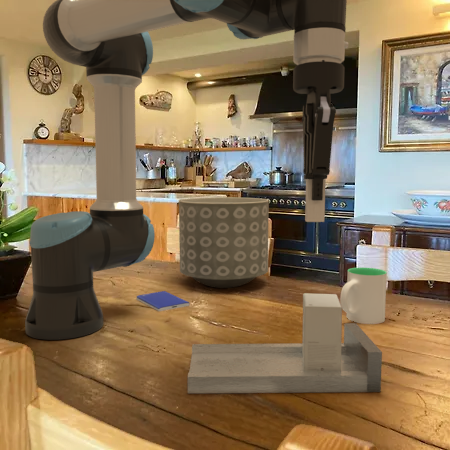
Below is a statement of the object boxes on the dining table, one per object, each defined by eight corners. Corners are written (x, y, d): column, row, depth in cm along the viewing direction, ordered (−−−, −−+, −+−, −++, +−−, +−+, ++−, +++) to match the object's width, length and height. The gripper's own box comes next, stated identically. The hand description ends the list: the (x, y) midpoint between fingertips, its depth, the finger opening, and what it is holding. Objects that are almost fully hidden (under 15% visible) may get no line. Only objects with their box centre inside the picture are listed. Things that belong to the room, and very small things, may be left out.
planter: (280, 291, 127) (281, 201, 124) (188, 297, 121) (187, 203, 118) (252, 272, 151) (253, 196, 148) (174, 276, 145) (173, 198, 142)
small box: (341, 376, 71) (342, 307, 70) (303, 373, 72) (304, 305, 71) (336, 355, 79) (337, 293, 78) (301, 353, 80) (303, 292, 79)
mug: (361, 330, 96) (362, 280, 94) (328, 321, 102) (329, 273, 100) (391, 318, 104) (393, 271, 102) (359, 310, 110) (360, 266, 108)
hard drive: (136, 295, 119) (158, 307, 109) (165, 290, 124) (189, 301, 114) (136, 301, 119) (158, 313, 109) (165, 296, 124) (189, 307, 114)
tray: (187, 393, 69) (187, 353, 68) (192, 358, 82) (192, 324, 81) (380, 391, 69) (382, 352, 69) (355, 357, 82) (356, 323, 81)
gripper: (356, 54, 65) (350, 226, 68) (333, 73, 78) (329, 217, 81) (301, 54, 65) (297, 226, 68) (287, 73, 78) (284, 217, 80)
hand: (314, 221), depth 74 cm, fingers closed
